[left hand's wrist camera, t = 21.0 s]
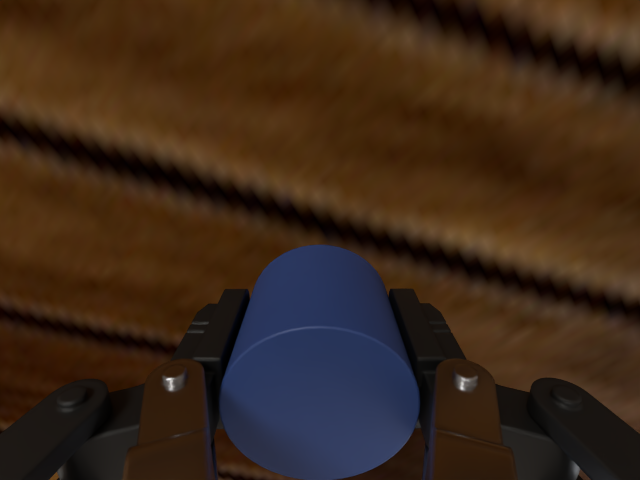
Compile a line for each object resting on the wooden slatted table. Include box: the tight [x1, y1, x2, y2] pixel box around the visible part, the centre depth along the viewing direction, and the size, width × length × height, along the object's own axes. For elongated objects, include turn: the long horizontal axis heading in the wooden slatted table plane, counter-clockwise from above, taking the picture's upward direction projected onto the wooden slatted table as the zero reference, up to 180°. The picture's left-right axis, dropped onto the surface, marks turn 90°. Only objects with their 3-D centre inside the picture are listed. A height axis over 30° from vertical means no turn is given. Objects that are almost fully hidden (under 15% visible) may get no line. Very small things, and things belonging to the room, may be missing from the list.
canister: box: [219, 245, 420, 480], centre depth 11 cm, size 5×5×5 cm
